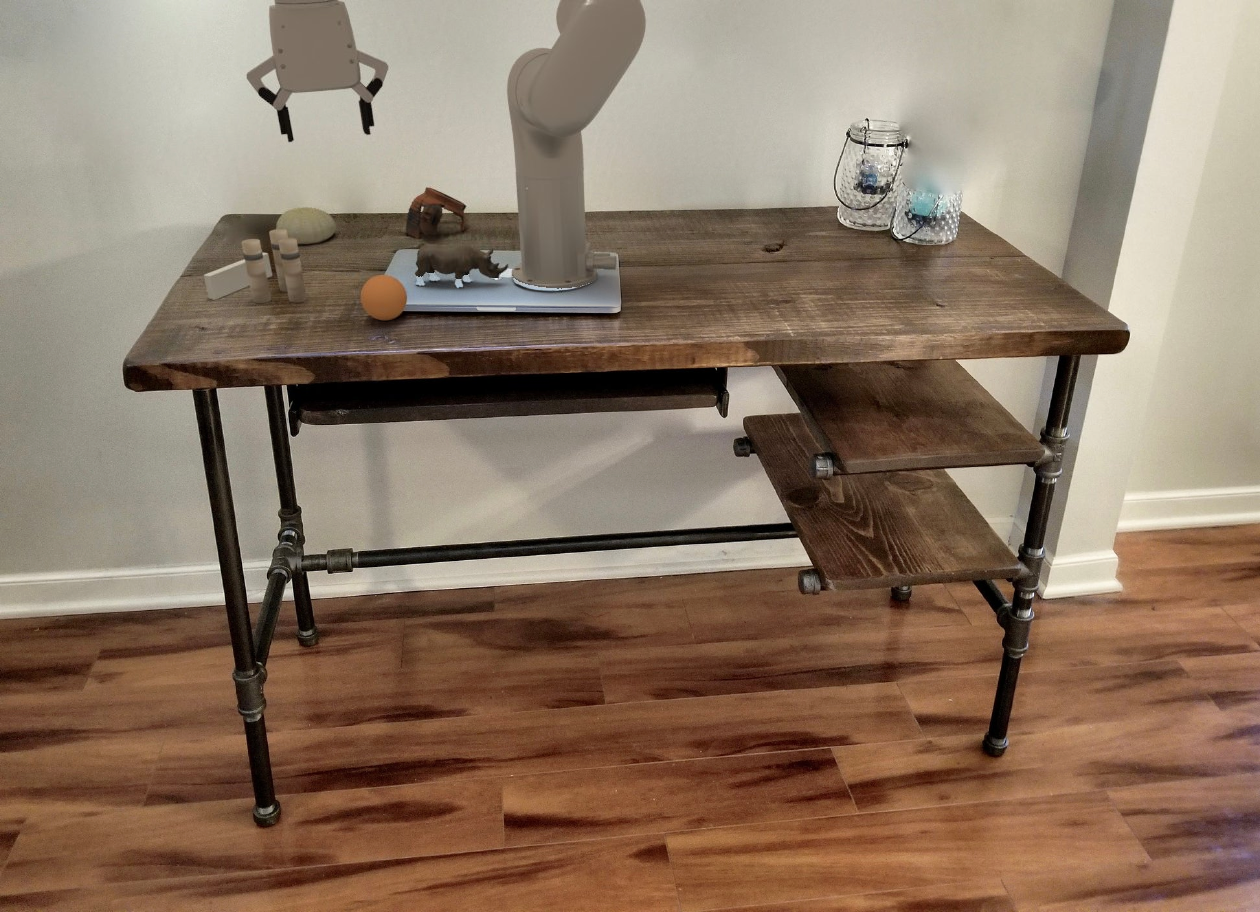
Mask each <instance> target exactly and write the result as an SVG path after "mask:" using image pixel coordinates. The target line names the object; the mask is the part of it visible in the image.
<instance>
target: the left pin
mask: <svg viewBox="0 0 1260 912" xmlns="http://www.w3.org/2000/svg"><path fill="white" fill-rule="evenodd" d="M240 243H241V247H242V255H243V260H244V259H245V263H246V268H247V273H248V278H249V283H250V286H249V288H250V292H251V297H252V302H253V303H254V304H265V303H269V302H270V301H271V300H272V297H271V292H270V291H271V290H270V286H269V282H268V278H267V276H266V271H265V266H264V260H263V253H264V252H263V250H262V245H261V240H260V239H258V238H249V239H245V240H242V241H241V242H240ZM262 252H263V253H262Z"/></svg>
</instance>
